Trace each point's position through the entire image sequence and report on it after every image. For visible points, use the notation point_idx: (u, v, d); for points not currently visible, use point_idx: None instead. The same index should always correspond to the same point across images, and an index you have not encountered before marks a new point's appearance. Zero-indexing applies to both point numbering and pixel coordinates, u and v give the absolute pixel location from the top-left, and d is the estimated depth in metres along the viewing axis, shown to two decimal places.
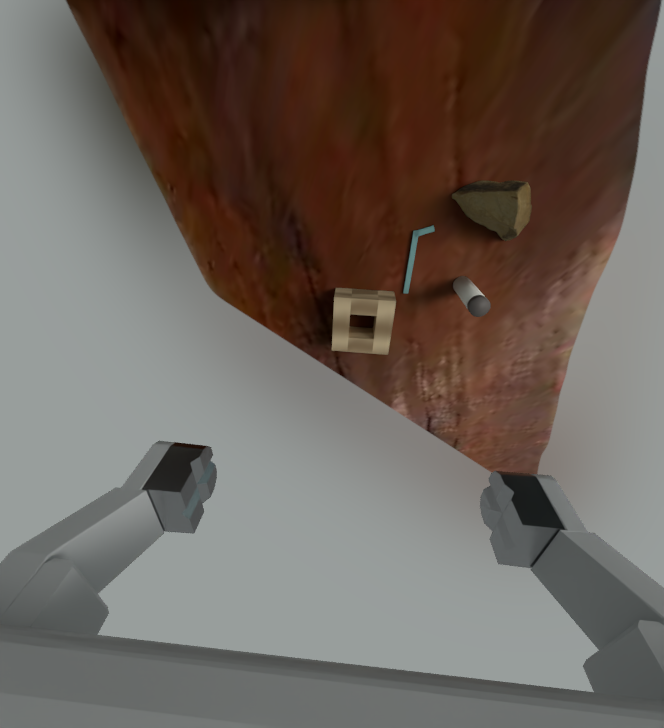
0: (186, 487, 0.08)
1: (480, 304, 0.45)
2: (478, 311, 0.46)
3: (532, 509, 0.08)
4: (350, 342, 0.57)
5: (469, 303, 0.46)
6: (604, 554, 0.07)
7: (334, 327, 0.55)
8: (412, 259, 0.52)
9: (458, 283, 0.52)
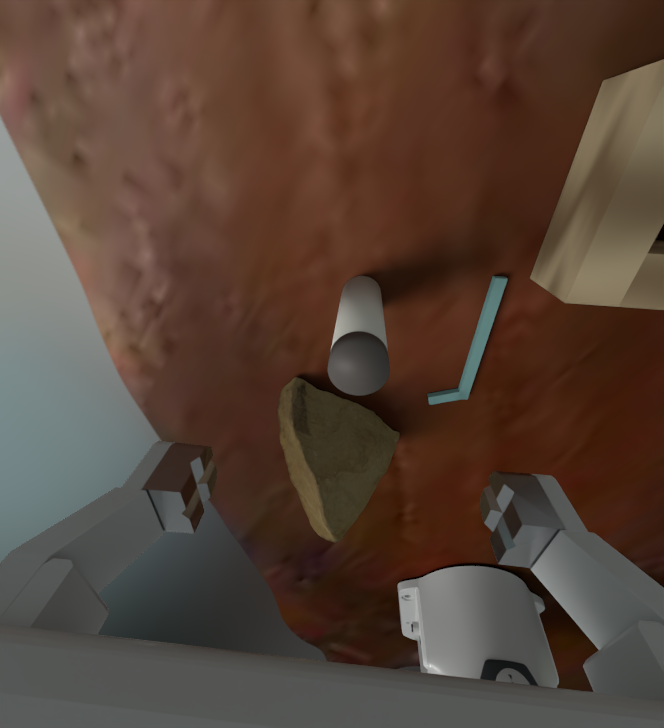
0: (186, 487, 0.08)
1: (358, 379, 0.15)
2: (360, 359, 0.14)
3: (532, 509, 0.08)
4: None
5: None
6: (604, 554, 0.07)
7: None
8: (475, 353, 0.24)
9: None
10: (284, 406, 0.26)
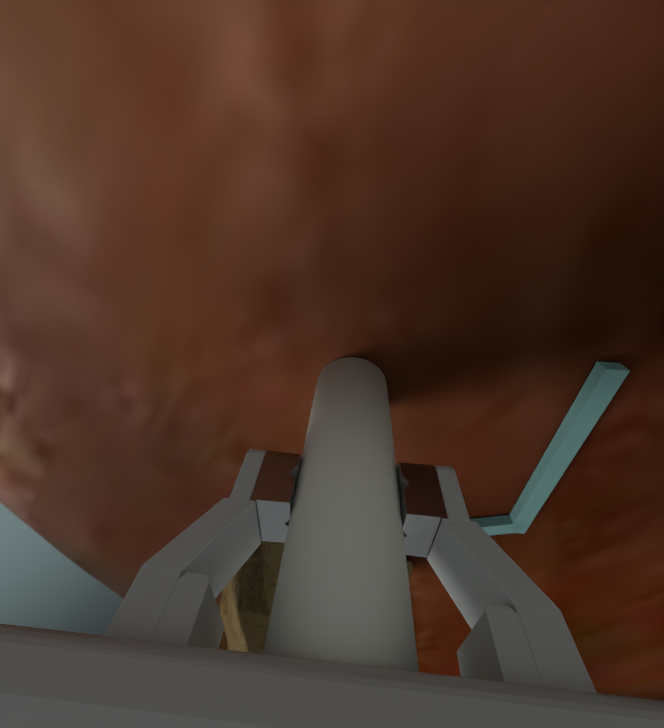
0: (291, 497, 0.08)
1: None
2: None
3: (421, 499, 0.08)
4: None
5: None
6: (477, 542, 0.07)
7: None
8: (546, 477, 0.14)
9: None
10: None
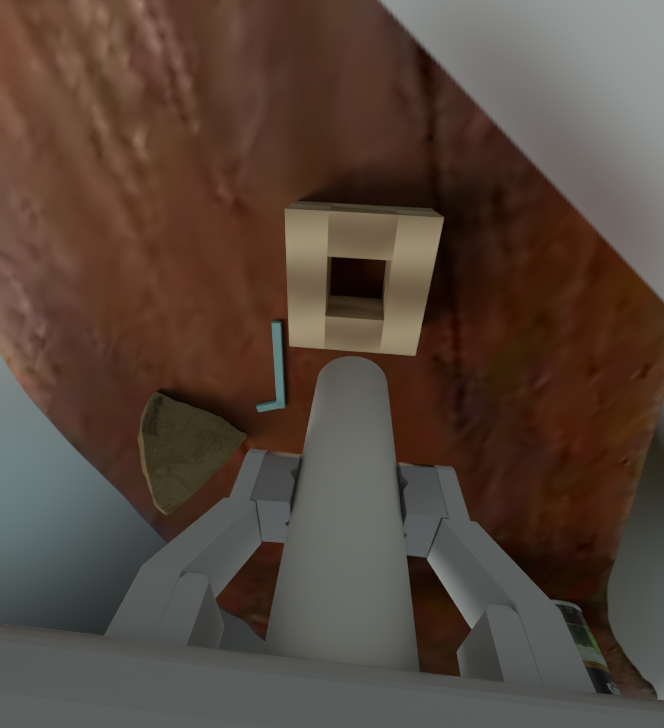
0: (291, 497, 0.08)
1: None
2: None
3: (421, 499, 0.08)
4: (387, 246, 0.21)
5: None
6: (477, 541, 0.07)
7: (424, 288, 0.22)
8: (277, 374, 0.32)
9: None
10: (143, 414, 0.34)
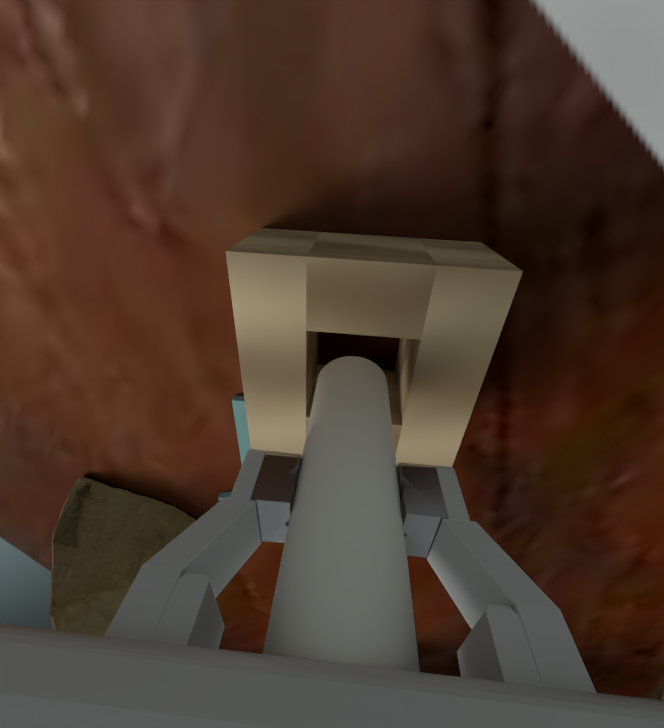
0: (291, 497, 0.08)
1: None
2: None
3: (421, 499, 0.08)
4: (414, 316, 0.12)
5: None
6: (477, 542, 0.07)
7: (474, 383, 0.13)
8: None
9: None
10: (61, 511, 0.25)
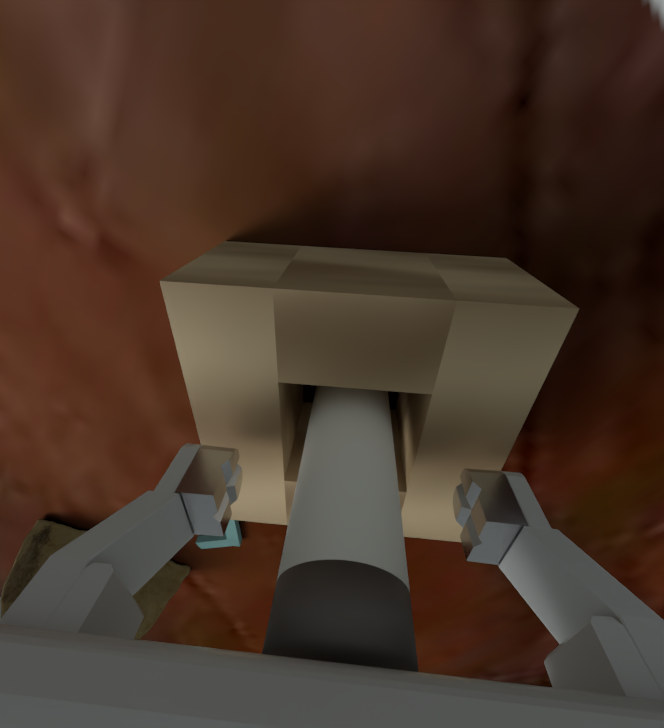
0: (218, 490, 0.08)
1: None
2: (341, 658, 0.05)
3: (498, 506, 0.08)
4: (423, 366, 0.09)
5: None
6: (564, 550, 0.07)
7: (502, 446, 0.10)
8: None
9: None
10: None
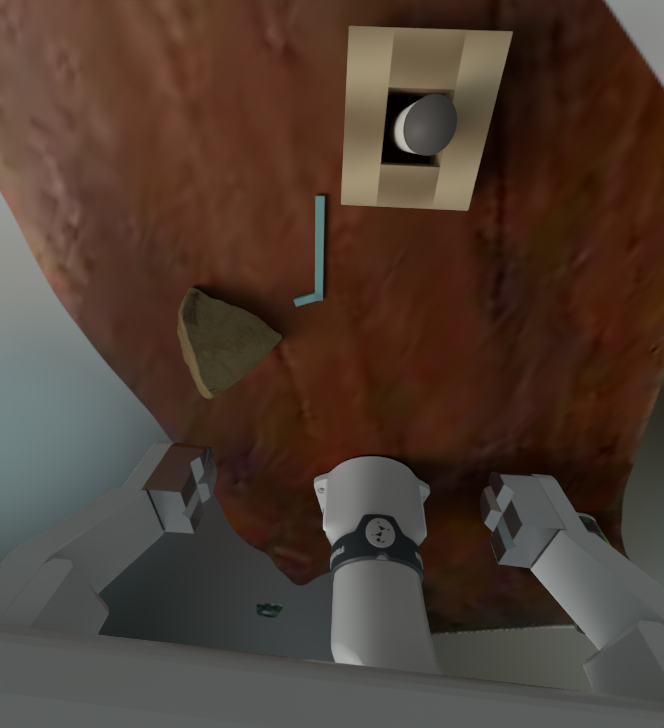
0: (186, 487, 0.08)
1: (430, 135, 0.18)
2: (434, 112, 0.18)
3: (532, 509, 0.08)
4: (452, 71, 0.21)
5: None
6: (604, 554, 0.07)
7: (485, 124, 0.22)
8: (317, 259, 0.32)
9: None
10: (180, 308, 0.34)
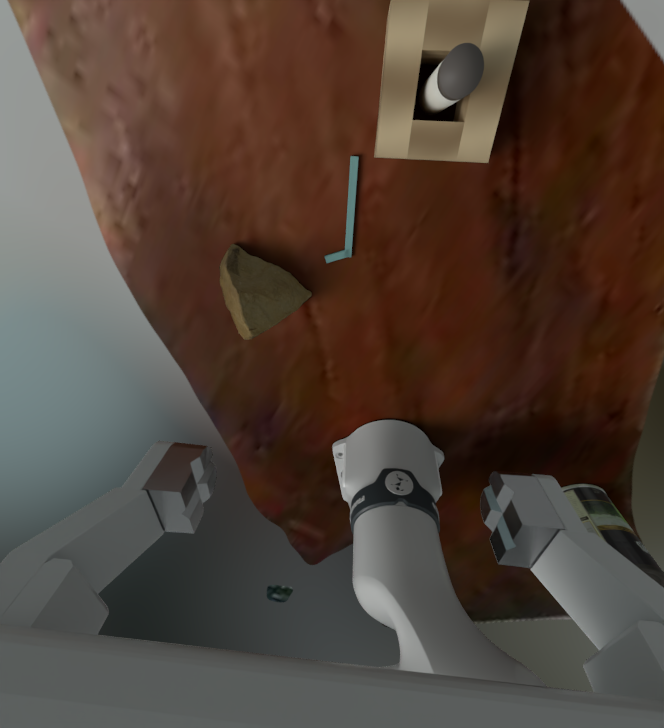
0: (186, 487, 0.08)
1: (461, 80, 0.22)
2: (464, 59, 0.21)
3: (532, 509, 0.08)
4: (477, 35, 0.25)
5: (478, 81, 0.22)
6: (604, 554, 0.07)
7: (504, 83, 0.26)
8: (349, 217, 0.36)
9: None
10: (223, 261, 0.38)
